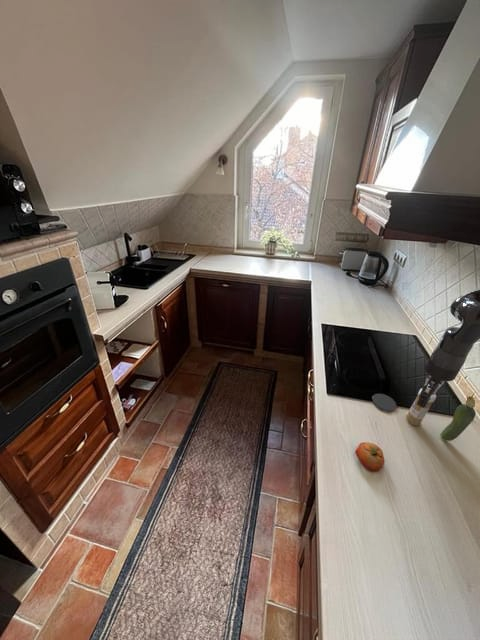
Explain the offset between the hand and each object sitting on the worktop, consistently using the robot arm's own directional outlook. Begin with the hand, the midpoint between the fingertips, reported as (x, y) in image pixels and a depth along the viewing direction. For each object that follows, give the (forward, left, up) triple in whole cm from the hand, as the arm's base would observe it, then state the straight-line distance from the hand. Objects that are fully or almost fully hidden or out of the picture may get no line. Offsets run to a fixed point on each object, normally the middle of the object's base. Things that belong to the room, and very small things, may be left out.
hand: (423, 401), depth 83 cm
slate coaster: (+6, -8, -10) cm, 14 cm away
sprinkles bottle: (0, 0, -10) cm, 10 cm away
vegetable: (-6, +8, -10) cm, 14 cm away
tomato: (+22, +13, -10) cm, 27 cm away
